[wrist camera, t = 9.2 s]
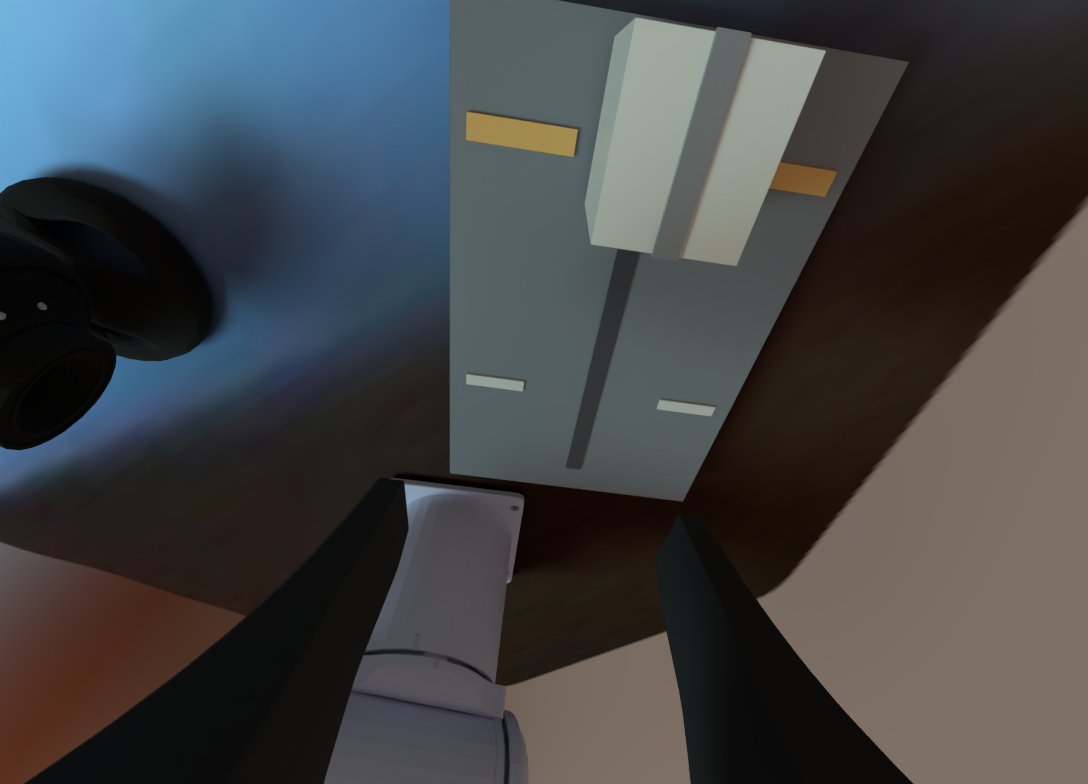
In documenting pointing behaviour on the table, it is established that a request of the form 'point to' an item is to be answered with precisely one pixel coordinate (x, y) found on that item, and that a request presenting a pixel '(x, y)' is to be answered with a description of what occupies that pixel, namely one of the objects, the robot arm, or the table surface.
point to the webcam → (83, 305)
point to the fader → (691, 138)
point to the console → (607, 261)
